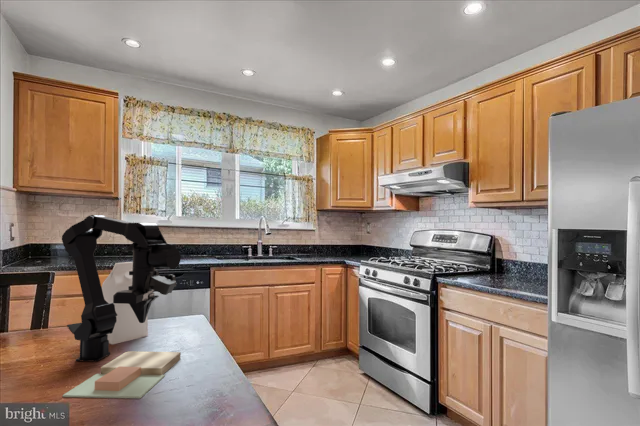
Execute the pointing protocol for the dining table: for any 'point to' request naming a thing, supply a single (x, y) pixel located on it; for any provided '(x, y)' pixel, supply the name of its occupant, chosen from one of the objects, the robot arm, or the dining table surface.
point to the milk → (123, 306)
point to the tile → (117, 378)
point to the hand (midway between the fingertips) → (142, 322)
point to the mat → (129, 391)
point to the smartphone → (73, 327)
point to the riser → (144, 362)
